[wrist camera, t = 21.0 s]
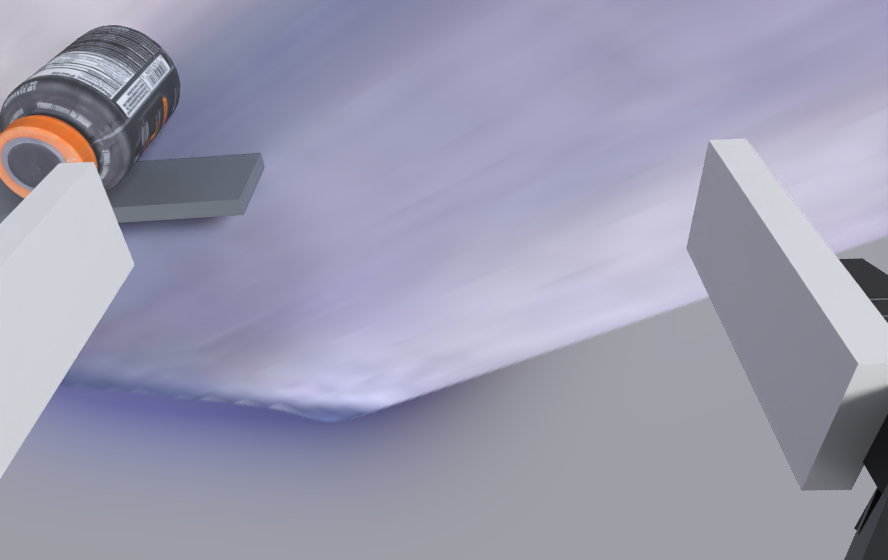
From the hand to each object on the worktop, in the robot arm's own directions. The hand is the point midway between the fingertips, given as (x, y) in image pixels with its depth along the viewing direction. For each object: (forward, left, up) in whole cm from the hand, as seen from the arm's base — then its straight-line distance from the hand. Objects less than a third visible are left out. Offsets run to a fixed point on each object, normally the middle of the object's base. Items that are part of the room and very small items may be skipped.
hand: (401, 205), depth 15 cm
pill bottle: (-12, -14, -25) cm, 31 cm away
